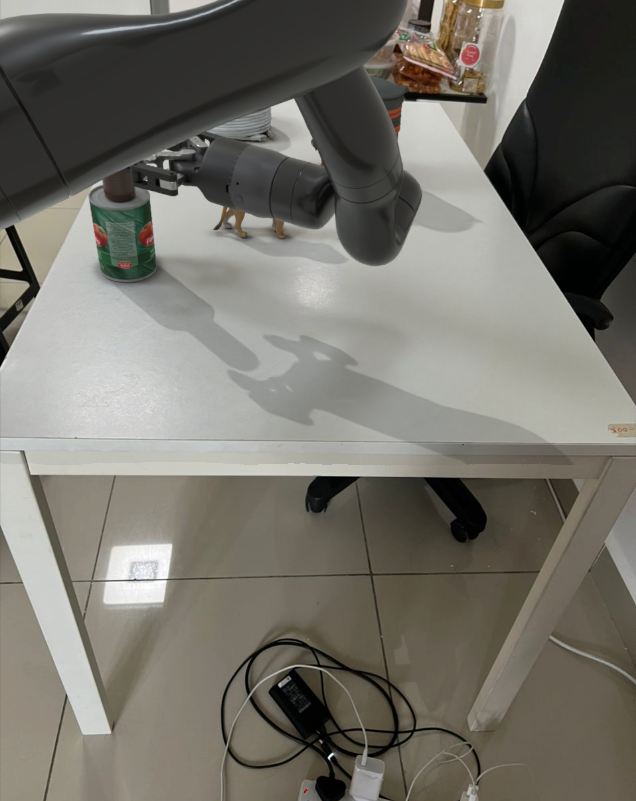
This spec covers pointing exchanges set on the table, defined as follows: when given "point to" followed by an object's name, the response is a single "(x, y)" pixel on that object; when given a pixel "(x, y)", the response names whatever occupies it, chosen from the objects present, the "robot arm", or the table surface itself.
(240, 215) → the lion figurine
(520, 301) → the table surface
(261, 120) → the cable
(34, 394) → the table surface
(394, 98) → the beer stein
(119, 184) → the pepper mill
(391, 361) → the table surface
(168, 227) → the table surface
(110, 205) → the canned tomato
